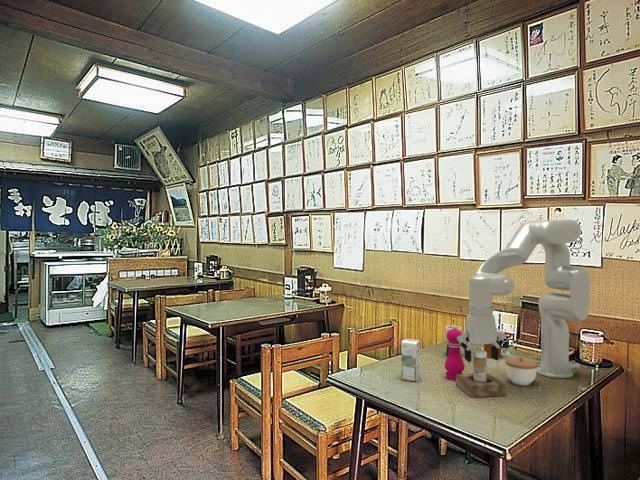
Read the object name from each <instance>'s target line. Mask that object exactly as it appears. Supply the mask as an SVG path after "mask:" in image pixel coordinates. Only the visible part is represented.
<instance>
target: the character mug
mask: <svg viewBox="0 0 640 480" xmlns="http://www.w3.org/2000/svg"><path fill="white" fill-rule="evenodd" d="M453 326H454V325H446V326H445V328H444V340H445V342H447V344H446V351H445V355H446V356H448V355H449V346H448V342H449V341H448V339H447V337H446V335H447V332H448V331H449V330H451V329H452V327H453ZM456 326H457V330H459V331H461V332H462V333H463V330H462V329H463V328H462V327H461V326H460V325H459V326H458V325H456ZM460 355H461V353H460ZM461 356H462V355H461Z"/></svg>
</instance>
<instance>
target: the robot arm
mask: <svg viewBox="0 0 640 480" xmlns="http://www.w3.org/2000/svg"><path fill="white" fill-rule="evenodd" d="M581 233H582V231H581V226H580V224H579V223H578V222H577V221H576V220H574V219H547V220H546V219H545V220H528V221H525V222H522V224H520V226H519V227H518V229H517V230H516V231H515V233H514V234H513V236H512V237H511V239H510V240H509V242H508V243H507V244H506V246H505V247H504V249H501V250H499V251H498V252H496V253H495V254H494V255H492V256H490V257H489V258H487V259H485V261H484V262H483V263H482V264H481V265H480V266H479V268H478V270H477V271H476V273H475V275H472V276H470V277H469V279H468V300H469V301H468V302H469V303H468V308H469V310H468V313H469V314H467V315H466V319H465V325H464V332H462V335H460V336H458V337H457V340H458V342H459V344H460V345H461V348H462V349H463V350H464V351H463V352H464V354H463V355H464V356H463V357H464V359H465V361H467V362H469V363H471V362H472V350H471V349H472V347H473V346H479V345H484V344H492V345H493V347H491V357H492V358H493V360H495V361H498V360H499V358H498V349H499V348H500V346H501V345H502V346H503V343H504V340H505V338H506V335H505V333H504V334H501V333H499V332H497V329H498V328H497V323H496V318H495V315H494V314H493V313H494V312H496V307H494V306H493V296H499V297H504V296H508V295H510V294H511V293H512V292H513V290H514V289H515V288H514V287H515V283H514V281H513V278H511V277H510V276H509V275H507V274H504V273H503V274H502V273H500V272H502V271H504V270H506V269H509V268H513V267H516V266H519V265H521V264H525V263H526V262H527V261H528V259H529V258H530V256H531V255H532V253H533V251H535V249H536V247H537V245H540V244H541V246H542V247H543V250H544V254H545V255H544V258H545V259H544V262H545V263H544V274H543V275H544V277H543V278H544V284H545V286H546V287H547V288H550V289H554V290H561V291H568V292H569V294H567V293H561V292H553V291H551V292H545V293H542V295H541V296H539V299H538V310H539V314H540V325H541V326H540V327H541V328H540V329H541V330H540V331H541V332H540V334H541V336H540V337H541V339H540V365H539V366H537V373H538V374H539V375H542V376H544V377H547V378H548V377H550V378H553V379H570V378H572V377H573V376H574V372H573V370H580V369H581V365H580V364H579V363H572V362H569V359H570V358H569V357H570V355H569V354H570V353H569V351H570V347H569V344H570V342H569V341H570V340H569V339H570V331H569V325H568V323H567V321H566V320H568V321H573V322H582V321H585V320H586V319H587V317H588V316H589V312H590V304H591V303H590V301H591V299H590V298H591V283H592V282H591V275H590V273H589V271H588V270H587V269H586V268H584V267H582V266H579V265H578V266H577V265H571V252H570V248H569V247H568V246H567V244H570V243H574V242H576V241H578V239H579V238H580V236H581ZM496 328H497V329H496ZM497 335H498V336H499V339H498V340H497ZM464 341H465V342H464ZM492 358H491V359H492Z"/></svg>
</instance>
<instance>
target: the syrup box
mask: <svg viewBox="0 0 640 480" xmlns="http://www.w3.org/2000/svg"><path fill="white" fill-rule="evenodd" d="M400 343H401V344H400V345H401V346H400V347H401V353H400V354H401V359H400V360H401V363H400V364H401V367H400V368H401V369H400V371H401V373H400V375H401V376H400V377H401V380H402V381H409V382H417V381H418V379H420V340H419V339H411V338H409V339H408V338H404V339H402V340H401V342H400Z"/></svg>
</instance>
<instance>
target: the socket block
mask: <svg viewBox="0 0 640 480" xmlns="http://www.w3.org/2000/svg"><path fill="white" fill-rule="evenodd" d="M455 386H456V387H457V386H458V387H457V388H459V389H460V390H461V391H463V392H464V393H465V394H466V395H467V396H468V397H470V398H471V399H475V398H491V397H492V398H495V397H506V383H504V382H502V381H501V380H499V379H498V378H496V377H495V376H493V375H492V374H490V373H489V372H487V382H483V383H475V382H474V379H473V373H463V374H456V380H455Z"/></svg>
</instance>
